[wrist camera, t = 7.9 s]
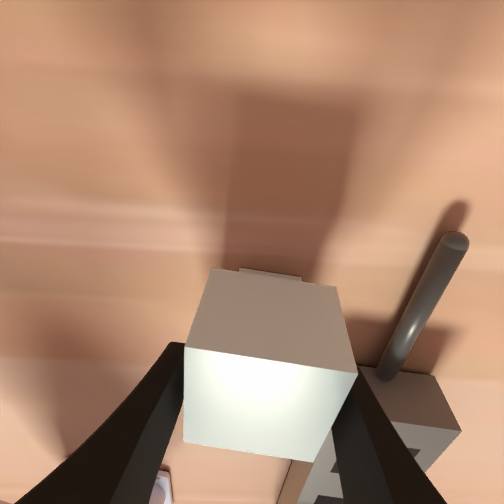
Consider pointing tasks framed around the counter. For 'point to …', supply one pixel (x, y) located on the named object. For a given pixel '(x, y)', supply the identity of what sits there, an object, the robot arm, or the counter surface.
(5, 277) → the counter surface
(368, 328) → the counter surface
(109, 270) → the counter surface
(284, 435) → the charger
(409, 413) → the power strip
